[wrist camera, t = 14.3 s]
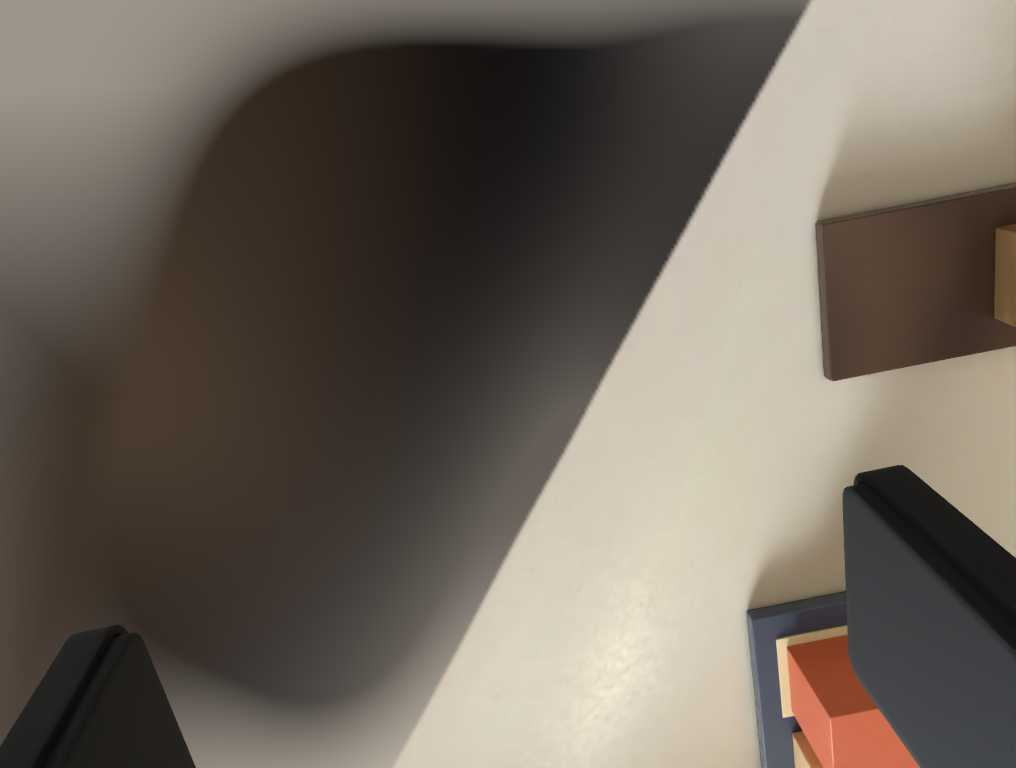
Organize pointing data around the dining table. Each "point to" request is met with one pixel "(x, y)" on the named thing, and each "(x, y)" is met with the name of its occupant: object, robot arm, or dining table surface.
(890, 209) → the wooden cubes on board
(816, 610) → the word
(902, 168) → the dining table surface
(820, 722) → the matte orange cube
